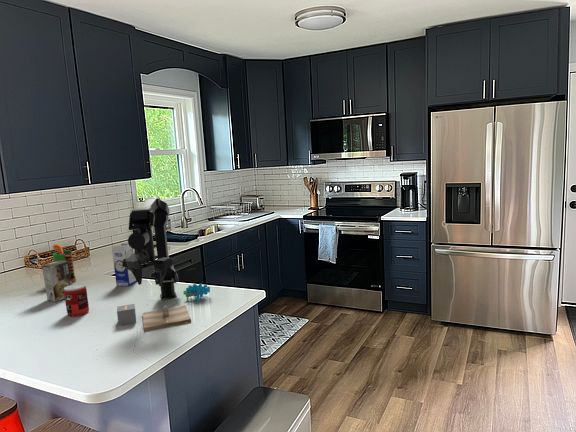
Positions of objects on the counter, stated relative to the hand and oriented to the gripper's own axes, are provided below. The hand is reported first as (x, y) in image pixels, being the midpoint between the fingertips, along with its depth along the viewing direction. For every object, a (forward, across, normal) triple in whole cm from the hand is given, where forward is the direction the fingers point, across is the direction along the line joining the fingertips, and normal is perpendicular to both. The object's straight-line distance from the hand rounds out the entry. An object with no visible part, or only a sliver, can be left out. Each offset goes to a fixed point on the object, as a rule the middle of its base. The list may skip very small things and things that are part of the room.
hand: (150, 285), depth 156 cm
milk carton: (+14, -45, +35) cm, 59 cm away
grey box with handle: (+13, -9, -4) cm, 17 cm away
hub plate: (+13, +4, +2) cm, 14 cm away
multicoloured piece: (+14, -81, +31) cm, 88 cm away
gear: (+14, +3, +24) cm, 27 cm away
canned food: (+14, -36, -1) cm, 39 cm away
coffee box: (+14, -62, +12) cm, 65 cm away
